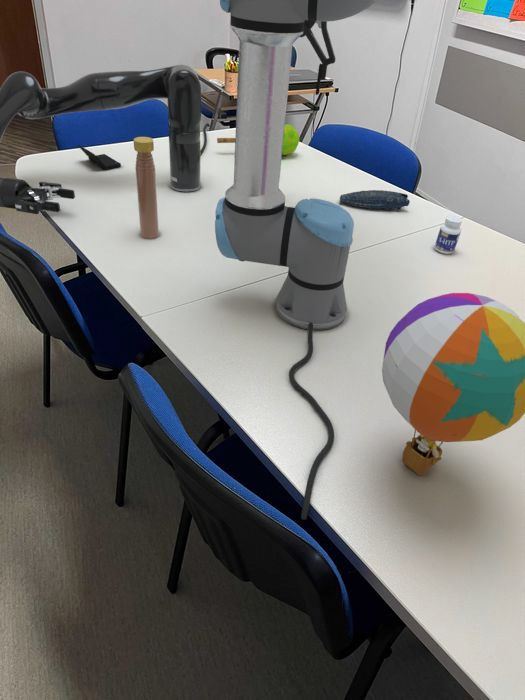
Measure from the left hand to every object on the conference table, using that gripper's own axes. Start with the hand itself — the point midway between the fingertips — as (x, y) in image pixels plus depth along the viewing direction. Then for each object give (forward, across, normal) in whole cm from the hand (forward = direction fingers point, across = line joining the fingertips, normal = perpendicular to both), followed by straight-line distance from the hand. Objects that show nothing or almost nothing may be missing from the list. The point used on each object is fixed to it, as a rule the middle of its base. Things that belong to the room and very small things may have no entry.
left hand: (66, 201), depth 133 cm
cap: (+22, 0, +18) cm, 28 cm away
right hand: (+52, -25, +26) cm, 64 cm away
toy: (+86, +63, -6) cm, 106 cm away
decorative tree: (+38, -72, -6) cm, 82 cm away
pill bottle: (+99, -15, -6) cm, 100 cm away
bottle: (+22, 0, -6) cm, 22 cm away
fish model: (+80, -38, -6) cm, 89 cm away
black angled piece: (-10, -43, -6) cm, 45 cm away
